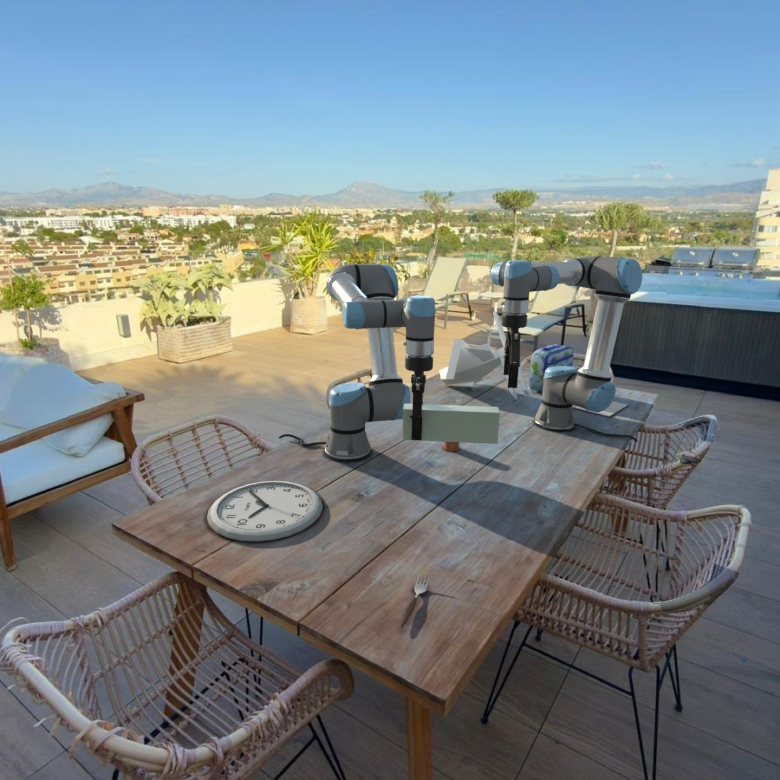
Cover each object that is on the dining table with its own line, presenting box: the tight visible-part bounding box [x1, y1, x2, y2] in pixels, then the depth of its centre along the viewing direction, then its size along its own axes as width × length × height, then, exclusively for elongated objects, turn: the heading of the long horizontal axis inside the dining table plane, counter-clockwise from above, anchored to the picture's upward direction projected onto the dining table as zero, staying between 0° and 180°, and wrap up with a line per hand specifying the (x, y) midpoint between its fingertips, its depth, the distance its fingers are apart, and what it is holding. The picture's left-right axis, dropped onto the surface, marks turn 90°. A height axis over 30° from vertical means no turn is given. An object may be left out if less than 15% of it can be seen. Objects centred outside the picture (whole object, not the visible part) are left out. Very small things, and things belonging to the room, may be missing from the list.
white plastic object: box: [438, 310, 531, 400], centre depth 245 cm, size 37×45×31 cm
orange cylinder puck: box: [443, 442, 460, 452], centre depth 180 cm, size 5×5×6 cm
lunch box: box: [528, 344, 574, 393], centre depth 247 cm, size 26×11×21 cm, turn 134°
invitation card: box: [573, 400, 629, 418], centre depth 226 cm, size 21×1×15 cm
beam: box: [402, 403, 501, 445], centre depth 145 cm, size 26×5×9 cm, turn 85°
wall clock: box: [206, 480, 324, 543], centre depth 140 cm, size 30×2×30 cm
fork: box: [400, 570, 431, 629], centre depth 106 cm, size 3×16×2 cm, turn 160°
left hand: (416, 435), depth 147 cm, fingers closed on beam, 5 cm apart
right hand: (509, 381), depth 164 cm, fingers open, 13 cm apart
